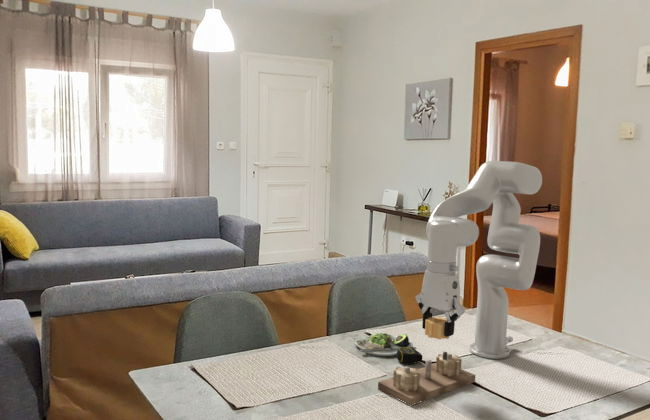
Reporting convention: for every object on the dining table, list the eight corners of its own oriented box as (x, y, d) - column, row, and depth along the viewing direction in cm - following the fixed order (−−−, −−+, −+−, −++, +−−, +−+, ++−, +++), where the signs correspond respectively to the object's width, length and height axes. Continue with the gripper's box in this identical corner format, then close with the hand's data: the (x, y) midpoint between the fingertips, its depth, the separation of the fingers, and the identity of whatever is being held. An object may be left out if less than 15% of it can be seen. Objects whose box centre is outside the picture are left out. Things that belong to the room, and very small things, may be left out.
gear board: (442, 367, 172) (443, 341, 171) (475, 381, 163) (476, 354, 162) (377, 389, 156) (379, 360, 155) (410, 405, 147) (411, 375, 146)
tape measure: (423, 365, 175) (423, 353, 174) (402, 367, 172) (402, 355, 172) (412, 356, 181) (413, 345, 181) (392, 358, 179) (393, 347, 178)
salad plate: (377, 364, 174) (378, 350, 174) (341, 347, 188) (341, 333, 188) (423, 352, 186) (423, 338, 185) (385, 336, 200) (385, 323, 199)
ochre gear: (436, 329, 162) (436, 315, 161) (456, 336, 157) (457, 321, 156) (419, 333, 158) (420, 319, 157) (439, 341, 152) (440, 326, 152)
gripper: (477, 271, 150) (472, 338, 153) (425, 259, 164) (422, 320, 166) (459, 275, 146) (454, 343, 148) (407, 262, 159) (404, 325, 161)
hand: (437, 331), depth 157 cm, fingers closed on ochre gear, 6 cm apart
